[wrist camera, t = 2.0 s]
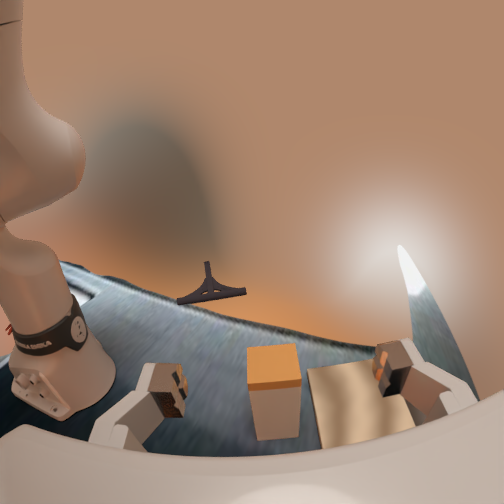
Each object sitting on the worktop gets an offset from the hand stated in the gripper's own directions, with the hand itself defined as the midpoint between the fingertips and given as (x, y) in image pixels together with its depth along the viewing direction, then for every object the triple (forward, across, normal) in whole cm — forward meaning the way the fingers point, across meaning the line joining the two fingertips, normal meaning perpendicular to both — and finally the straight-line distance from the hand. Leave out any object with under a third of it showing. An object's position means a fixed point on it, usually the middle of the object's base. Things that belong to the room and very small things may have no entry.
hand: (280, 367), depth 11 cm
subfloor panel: (+12, -13, +25) cm, 31 cm away
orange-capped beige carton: (+12, 0, +25) cm, 27 cm away
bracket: (+49, +12, +25) cm, 57 cm away
